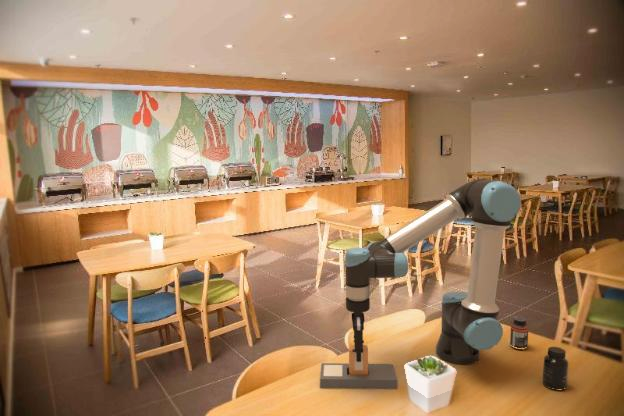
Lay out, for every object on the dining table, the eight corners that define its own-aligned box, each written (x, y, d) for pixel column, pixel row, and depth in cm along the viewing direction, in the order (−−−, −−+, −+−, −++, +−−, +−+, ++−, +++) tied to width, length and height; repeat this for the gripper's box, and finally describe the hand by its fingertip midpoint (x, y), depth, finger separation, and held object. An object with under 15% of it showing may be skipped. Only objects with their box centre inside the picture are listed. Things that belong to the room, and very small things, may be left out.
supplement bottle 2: (570, 392, 136) (572, 356, 135) (546, 390, 138) (548, 354, 136) (562, 380, 143) (564, 345, 141) (539, 378, 144) (541, 344, 143)
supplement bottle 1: (511, 342, 170) (513, 314, 168) (528, 346, 167) (530, 317, 165) (508, 348, 165) (509, 319, 164) (525, 352, 162) (527, 323, 160)
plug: (367, 376, 146) (367, 345, 144) (368, 382, 142) (367, 350, 141) (349, 376, 146) (348, 345, 145) (349, 382, 143) (349, 350, 141)
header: (393, 375, 149) (393, 363, 148) (396, 391, 139) (397, 379, 138) (321, 374, 150) (321, 362, 150) (320, 390, 140) (320, 378, 140)
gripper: (345, 288, 148) (346, 353, 152) (346, 307, 132) (347, 379, 136) (368, 288, 148) (368, 354, 152) (371, 307, 132) (371, 380, 135)
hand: (358, 366), depth 144 cm, fingers closed on plug, 3 cm apart
